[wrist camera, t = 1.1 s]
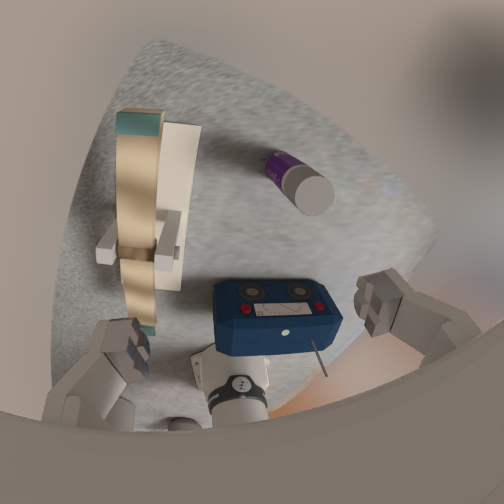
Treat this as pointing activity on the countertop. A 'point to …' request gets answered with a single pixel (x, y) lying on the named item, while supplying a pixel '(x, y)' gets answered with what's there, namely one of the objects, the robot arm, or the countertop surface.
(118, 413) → the cylinder vase
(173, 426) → the coffee pot
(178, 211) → the stand
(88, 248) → the countertop surface
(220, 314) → the radio
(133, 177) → the beam
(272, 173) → the container
